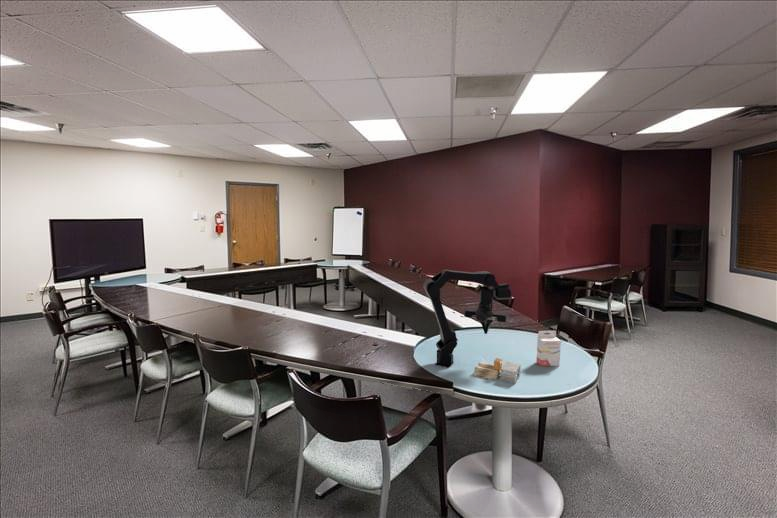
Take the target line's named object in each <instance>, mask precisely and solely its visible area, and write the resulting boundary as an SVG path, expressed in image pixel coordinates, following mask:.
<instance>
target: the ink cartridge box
mask: <svg viewBox="0 0 777 518" xmlns="http://www.w3.org/2000/svg"><path fill="white" fill-rule="evenodd" d="M536 340H537V343H536V345H537V346H536V363H537V364H538V365H539V366H540V367H559V366H560V365H561V364H560V361H561V350H562V349H561V345H562V344H561V343H562V341H561V339H559V338H558V337H557V330H539V331H538V335H537V339H536Z"/></svg>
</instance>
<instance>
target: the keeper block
mask: <svg viewBox="0 0 777 518" xmlns="http://www.w3.org/2000/svg"><path fill="white" fill-rule="evenodd" d="M520 377H521V364H520V363H515V362H509V361H505V362H504V363H503V364H502V368H501V373H500V376H499V378H500V380H502V381H501V382H505V381H506V382H505V383H509V382H511V383H510V384H514V383H515V384H514V385H516V384H517V382H518V381H519V378H520ZM517 380H518V381H517Z"/></svg>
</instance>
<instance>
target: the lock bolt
mask: <svg viewBox="0 0 777 518" xmlns="http://www.w3.org/2000/svg"><path fill="white" fill-rule="evenodd" d="M493 365H494V370H498V374H499V375H500V373H501V368H502V366H503V359H502V358H501V359H500V358H495V359H494V361H493Z"/></svg>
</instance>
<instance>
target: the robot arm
mask: <svg viewBox="0 0 777 518" xmlns="http://www.w3.org/2000/svg"><path fill="white" fill-rule="evenodd" d="M449 280H451V281H461V282H462V281H463V282H470V283H471V282H473V283H475V284H476V283H477V284H478V285H477V286H476V287H475V288H474V289H475V290H476V291H478V292H479V303H478V308H470V307H469V308H467V309H466V310H464V314H463V316H464V318H472V317H475V319H476V321H478V322H479V323H480V324H481V327H482V329H483V333H484V335H487V334H488V332H489V330H490V327H491V326H492V323H493V322H494V321H497V322H498V323H507V322H508V321H509V320H510V315H509V313H507V312H501V311H500V312H498V313H494V303H495V302H494V298H495V300H510V299H511V297H512V291H511V288H510V284H509V283H502V284H501V283H500V284H499V283H498V282H497V281H496V277H495V275H494V274H493V273H491V272H489V271H486V270H483V271H482V270H480V271H479V270H478V271H475V272H474V271H473V272H470V271H461V270H460V271H459V270H451V269H442V270H441V271H440V272H439V273H437V274H435V275H433V276H432V277H431V278H428V279H426V280H424V282H423V289H424V291H425V293H426V295H427V297H428V298H429V300H430V302H431V305H432V308H433V311H434V315H435V317H436V320H437V324H438V326H439V335H440V339H439V340H438V341H437V342H436V343H435V345H436V348H437V350H436V362H435V363H434V364H435V365H434V366H438V367H443V368H450V367H451V366H452V365H453V364H454V363H455V362H454V354H453V353H454V351H455V348H456V347H457V346H458V341H459V340H458V338H457V334H456V331H455V330H454V329H453V328H452V327H450V326H449V323H448V319H447V316H446V313H445V310H444V307H443V304H442V300H441V288H443V287H444V286H445V285H446V283H447V282H449Z"/></svg>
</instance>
